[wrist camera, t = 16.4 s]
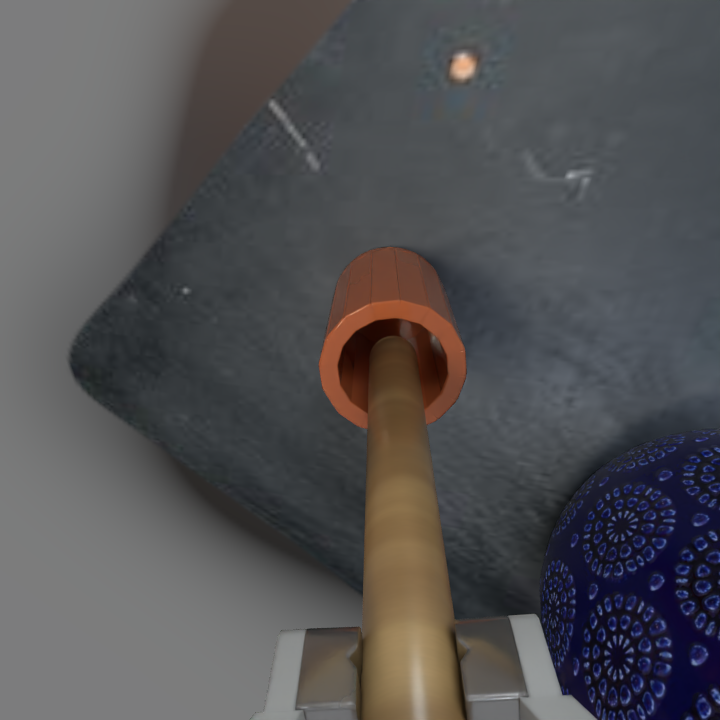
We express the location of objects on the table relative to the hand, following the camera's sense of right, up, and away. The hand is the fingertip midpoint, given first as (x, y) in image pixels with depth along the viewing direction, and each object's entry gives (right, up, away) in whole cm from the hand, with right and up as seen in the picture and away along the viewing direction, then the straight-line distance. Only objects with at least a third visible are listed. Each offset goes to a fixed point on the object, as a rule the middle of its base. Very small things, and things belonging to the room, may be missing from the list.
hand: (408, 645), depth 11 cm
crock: (+1, +8, +18) cm, 20 cm away
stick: (0, +6, +12) cm, 14 cm away
